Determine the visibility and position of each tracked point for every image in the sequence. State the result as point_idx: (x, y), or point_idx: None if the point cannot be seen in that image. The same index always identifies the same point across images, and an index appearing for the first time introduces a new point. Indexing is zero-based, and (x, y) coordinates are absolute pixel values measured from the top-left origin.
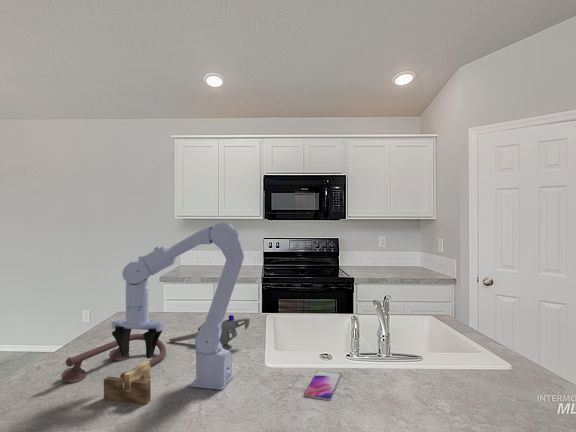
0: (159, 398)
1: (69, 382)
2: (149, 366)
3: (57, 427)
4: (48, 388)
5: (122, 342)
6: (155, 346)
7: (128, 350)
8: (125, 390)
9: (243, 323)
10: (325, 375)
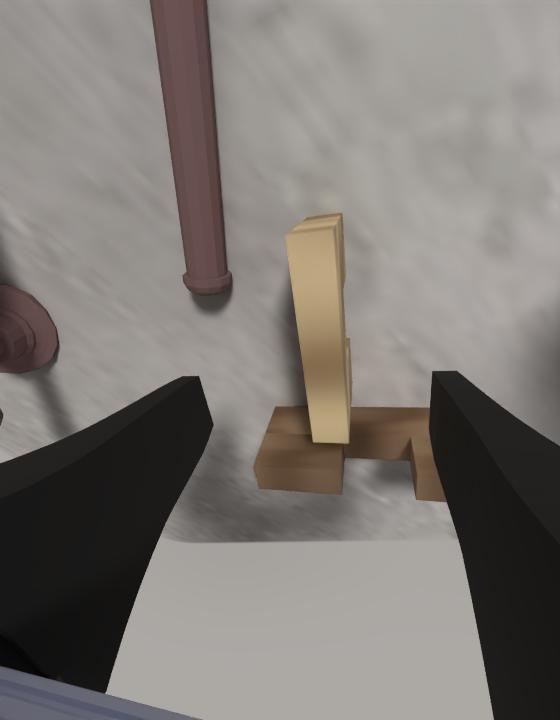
0: (527, 383)
1: (46, 361)
2: (337, 237)
3: (286, 541)
4: (35, 397)
5: (152, 523)
6: (511, 415)
7: (187, 391)
8: (372, 451)
9: None
10: None
